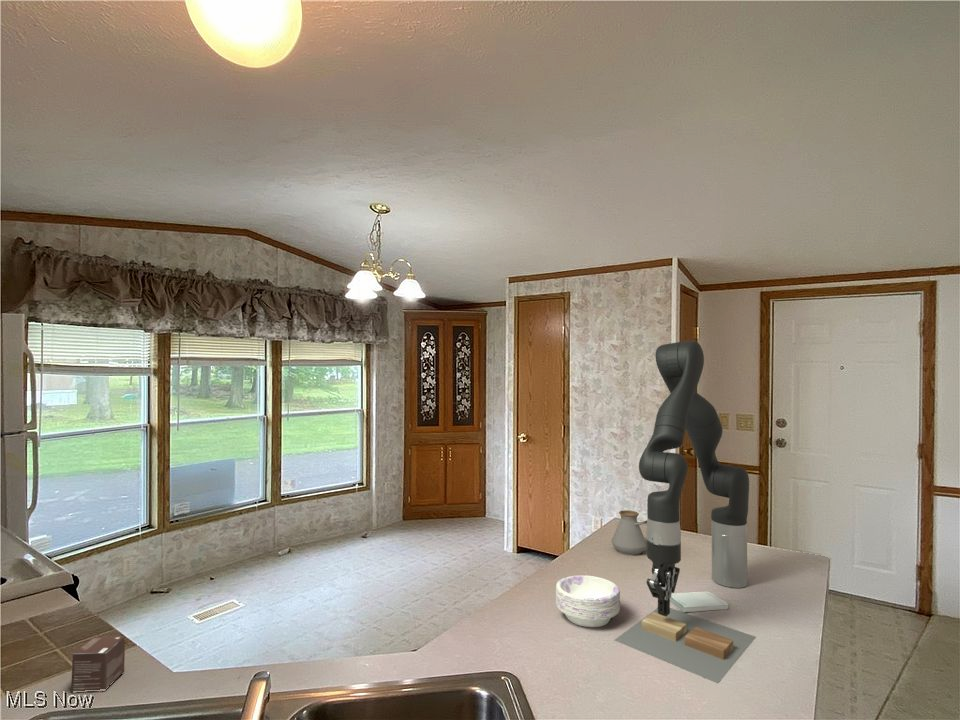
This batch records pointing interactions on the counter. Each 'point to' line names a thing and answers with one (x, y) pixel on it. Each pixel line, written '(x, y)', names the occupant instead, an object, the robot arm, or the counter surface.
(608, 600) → the paper bowls
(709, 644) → the walnut slab
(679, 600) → the hard drive
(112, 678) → the box
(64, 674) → the counter surface
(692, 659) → the rubber mat
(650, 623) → the pale oak slab
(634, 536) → the coffee pot
